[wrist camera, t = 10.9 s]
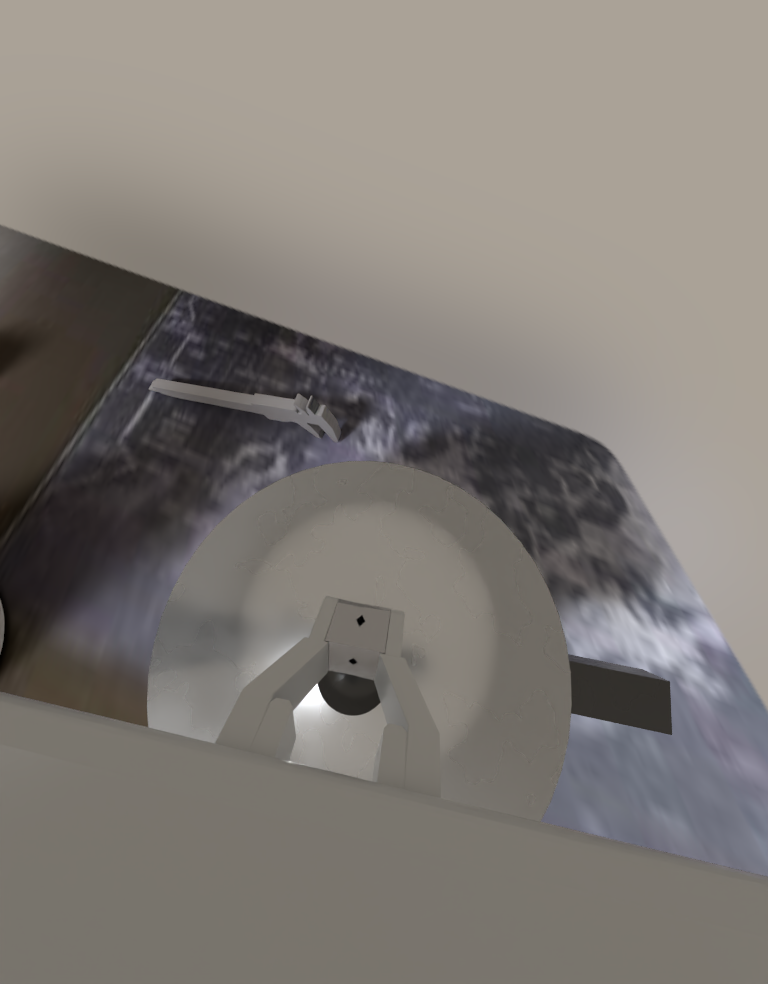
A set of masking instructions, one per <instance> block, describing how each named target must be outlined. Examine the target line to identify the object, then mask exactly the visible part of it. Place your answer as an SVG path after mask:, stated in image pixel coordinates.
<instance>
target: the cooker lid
mask: <svg viewBox="0 0 768 984" xmlns="http://www.w3.org/2000/svg"><path fill="white" fill-rule="evenodd" d="M326 596H330V597H335V598H339V599H343V600H348V601H352V602H357V603H362V604H369V605H374V606H379V607H385V608H390V609H393V610H398V611H404V613H405V619H404V630H403V642H402V653H401V657H402V658H405V659H406V661H407V663H408V666H409V668H410V670H411V672H412V674H413V677H414V679H415V681H416V683H417V685H418V687H419V690H420V692H421V694H422V696H423V698H424V701H425V703H426V705H427V707H428V709H429V712H430V714H431V716H432V718H433V720H434V722H435V725H436V727H437V729H438V731H439V733H440V774H441V798H443V799H447V800H452V801H456V802H460V803H464V804H468V805H472V806H476V807H481V808H485V809H489V810H493V811H497V812H501V813H506V814H510V815H514V816H518V817H522V818H526V819H530V820H535V821H539V822H541V820H542V818H543V816H544V814H545V812H546V810H547V808H548V806H549V804H550V802H551V799H552V796H553V793H554V791H555V788H556V785H557V782H558V779H559V776H560V774H561V771H562V766H563V762H564V757H565V752H566V748H567V743H568V739H569V729H570V718H571V706H572V701H571V672H570V665H569V658H568V652H567V645H566V640H565V636H564V633H563V629H562V625H561V621H560V618H559V614H558V611H557V609H556V606H555V604H554V601H553V599H552V596H551V594H550V591H549V589H548V586H547V584H546V583H545V581H544V579H543V577H542V575H541V573H540V571H539V570H538V568H537V566H536V564H535V562H534V561H533V559H532V558H531V556H530V555H529V553H528V552H527V551H526V549H525V548H524V546H523V545H522V543H521V542H520V541H519V539H518V538H517V537H516V536H515V535H514V534H513V532H512V531H511V530H510V529H509V528H508V527H507V526H506V525H505V523H504V522H503V521H502V520H501V519H500V518H499V517H498V516H496V515H495V514H494V513H493V512H492V511H491V510H490V509H488V508H487V507H486V506H485V505H484V504H483V503H482V502H480V501H479V500H477V499H476V498H474V497H473V496H471V495H470V494H469V493H467V492H466V491H464V490H463V489H461V488H459V487H457V486H455V485H454V484H452V483H450V482H448V481H446V480H444V479H442V478H440V477H438V476H435V475H432V474H430V473H427V472H424V471H421V470H419V469H415V468H411V467H407V466H403V465H398V464H394V463H385V462H376V461H347V462H340V463H333V464H326V465H322V466H318V467H314V468H310V469H307V470H303V471H300V472H298V473H295V474H293V475H290V476H288V477H285V478H283V479H280V480H278V481H276V482H275V483H273V484H271V485H269V486H267V487H266V488H264V489H262V490H260V491H258V492H257V493H255V494H254V495H253V496H251V497H250V498H248V499H247V500H246V501H244V502H243V503H241V504H240V505H239V506H237V507H236V508H235V509H234V510H233V511H232V512H231V513H230V514H229V515H227V516H226V517H225V518H224V519H223V520H222V521H221V522H220V523H219V524H218V525H217V526H216V527H215V528H214V529H213V531H212V532H211V533H210V534H209V535H208V536H207V537H206V538H205V540H204V541H203V542H202V543H201V544H200V546H199V547H198V549H197V550H196V552H195V553H194V554H193V556H192V557H191V559H190V560H189V562H188V563H187V565H186V566H185V568H184V570H183V572H182V573H181V575H180V577H179V579H178V581H177V583H176V585H175V586H174V588H173V590H172V592H171V595H170V597H169V600H168V602H167V605H166V607H165V610H164V612H163V615H162V617H161V621H160V624H159V628H158V631H157V635H156V638H155V642H154V646H153V652H152V658H151V664H150V670H149V677H148V698H147V713H148V727H149V728H153V729H157V730H161V731H165V732H169V733H173V734H178V735H182V736H186V737H190V738H194V739H198V740H203V741H207V742H211V743H215V742H216V740H217V738H218V736H219V734H220V732H221V730H222V728H223V726H224V725H225V723H226V721H227V719H228V717H229V715H230V713H231V711H232V709H233V707H234V705H235V703H236V701H237V699H238V698H239V696H240V694H241V692H242V690H243V688H244V687H245V686H247V685H248V684H249V683H250V682H251V681H253V680H254V679H255V678H256V677H257V676H259V675H260V674H261V673H262V672H263V671H265V670H266V669H267V668H268V667H269V666H271V665H272V664H273V663H274V662H275V661H277V660H278V659H279V658H280V657H281V656H283V655H284V654H285V653H286V652H287V651H289V650H290V649H291V648H292V647H293V646H294V645H296V644H297V643H298V642H299V641H300V640H302V639H303V638H304V637H308V638H309V636H310V633H311V630H312V628H313V625H314V623H315V620H316V618H317V615H318V612H319V610H320V607H321V605H322V602H323V600H324V598H325V597H326ZM293 716H294V724H295V732H296V740H295V743H294V746H293V750H292V753H291V756H290V759H289V761H290V762H294V763H298V764H302V765H306V766H310V767H315V768H319V769H323V770H327V771H331V772H335V773H340V774H344V775H348V776H352V777H356V778H360V779H364V780H369V781H372V776H373V769H374V761H375V755H376V752H377V749H378V746H379V742H380V739H381V736H382V733H383V730H384V727H385V726H386V725H387V722H386V719H385V715H384V712H383V709H382V706H381V702H380V699H379V696H378V692H377V689H376V686H375V682H374V680H370V679H366V678H362V677H358V676H354V675H350V674H345V673H340V672H334V671H329V670H328V672H327V674H326V675H325V676H324V677H323V678H322V679H321V680H320V681H319V682H318V684H317V685H316V686H315V687H314V688H313V689H312V690H311V691H310V693H309V694H308V695H307V696H306V697H305V698H304V699H303V700H302V702H301V703H300V704H299V705H298V706H297V707H296V708H295V709H294V711H293Z"/></svg>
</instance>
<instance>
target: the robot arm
mask: <svg viewBox="0 0 768 984" xmlns="http://www.w3.org/2000/svg"><path fill="white" fill-rule="evenodd" d="M404 619H405V613H404V611H398V610H393V609H390V608H385V607H379V606H374V605H369V604H362V603H357V602H352V601H348V600H343V599H339V598H335V597H330V596H326V597H325V598H324V600H323V602H322V605H321V607H320V610H319V612H318V615H317V618H316V620H315V623H314V625H313V628H312V630H311V633H310V636H309V638H308V637H304V638H303V639H302V640H300V641H299V642H298V643H297V644H296V645H294V646H293V647H292V648H291V649H290V650H289V651H287V652H286V653H285V654H284V655H283V656H281V657H280V658H279V659H278V660H277V661H275V662H274V663H273V664H272V665H271V666H269V667H268V668H267V669H266V670H265V671H263V672H262V673H261V674H260V675H259V676H257V677H256V678H255V679H254V680H253V681H251V682H250V683H249V684H248V685H247V686H245V687H244V688H243V690H242V692H241V694H240V696H239V698H238V699H237V701H236V703H235V705H234V707H233V709H232V711H231V713H230V715H229V717H228V719H227V721H226V723H225V725H224V726H223V728H222V730H221V732H220V734H219V736H218V738H217V740H216V742H215V743H211V742H207V741H203V740H198V739H194V738H190V737H186V736H182V735H178V734H173V733H169V732H165V731H161V730H157V729H153V728H149V727H144V726H140V725H136V724H132V723H128V722H124V721H120V720H115V719H111V718H107V717H103V716H99V715H95V714H90V713H86V712H82V711H78V710H74V709H70V708H66V707H61V706H57V705H53V704H49V703H45V702H41V701H37V700H32V699H28V698H24V697H20V696H16V695H12V694H7V693H3V692H0V984H768V877H767V876H763V875H759V874H755V873H750V872H746V871H742V870H738V869H734V868H730V867H725V866H721V865H717V864H713V863H709V862H705V861H701V860H696V859H692V858H688V857H684V856H680V855H676V854H672V853H667V852H663V851H659V850H655V849H651V848H647V847H642V846H638V845H634V844H630V843H626V842H622V841H618V840H613V839H609V838H605V837H601V836H597V835H593V834H589V833H584V832H580V831H576V830H572V829H568V828H564V827H559V826H555V825H551V824H547V823H543V822H539V821H535V820H530V819H526V818H522V817H518V816H514V815H510V814H506V813H501V812H497V811H493V810H489V809H485V808H481V807H476V806H472V805H468V804H464V803H460V802H456V801H452V800H447V799H443V798H441V774H440V733H439V731H438V729H437V727H436V725H435V722H434V720H433V718H432V716H431V714H430V712H429V709H428V707H427V705H426V703H425V701H424V698H423V696H422V694H421V692H420V690H419V687H418V685H417V683H416V681H415V679H414V677H413V674H412V672H411V670H410V668H409V666H408V663H407V661H406V659H405V658H402V657H401V653H402V642H403V630H404ZM3 639H4V612H3V607H2V603H1V600H0V653H1V649H2V645H3ZM328 670H329V671H334V672H340V673H345V674H350V675H354V676H358V677H362V678H366V679H370V680H374V682H375V686H376V689H377V692H378V696H379V699H380V702H381V706H382V709H383V712H384V715H385V719H386V722H387V725H386V726H385V727H384V730H383V733H382V736H381V739H380V742H379V746H378V749H377V752H376V755H375V761H374V769H373V776H372V781H369V780H364V779H360V778H356V777H352V776H348V775H344V774H340V773H335V772H331V771H327V770H323V769H319V768H315V767H310V766H306V765H302V764H298V763H294V762H290V761H289V759H290V756H291V753H292V750H293V746H294V743H295V740H296V732H295V724H294V716H293V711H294V709H295V708H296V707H297V706H298V705H299V704H300V703H301V702H302V700H303V699H304V698H305V697H306V696H307V695H308V694H309V693H310V691H311V690H312V689H313V688H314V687H315V686H316V685H317V684H318V682H319V681H320V680H321V679H322V678H323V677H324V676H325V675H326V674H327V672H328Z"/></svg>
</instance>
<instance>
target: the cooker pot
mask: <svg viewBox="0 0 768 984" xmlns="http://www.w3.org/2000/svg"><path fill="white" fill-rule="evenodd" d="M568 658H569V665H570V672H571V701H572V706H571V713H573V714H577V715H582V716H587V717H591V718H596V719H600V720H605V721H610V722H614V723H619V724H624V725H628V726H633V727H638V728H642V729H647V730H652V731H656V732H661V733H665V734H670V735H672V723H671V698H670V681H667V680H665V679H663V678H661V677H658V676H656V675H654V674H652V673H649V672H647V671H645V670H643V669H638V668H633V667H628V666H623V665H618V664H613V663H608V662H603V661H598V660H594V659H589V658H584V657H579V656H574V655H569V654H568Z"/></svg>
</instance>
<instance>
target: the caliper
mask: <svg viewBox="0 0 768 984" xmlns="http://www.w3.org/2000/svg"><path fill="white" fill-rule="evenodd" d="M149 390H151V391H155V392H160V393H162V394H165V395H168V396H172V397H176V398H180V399H186V400H191V401H196V402H201V403H207V404H212V405H217V406H222V407H227V408H232V409H238V410H243V411H248V412H253V413H258V414H263V415H264V416H266V417H267V418H268V419H270V420H278V421H281V422H290V421H291V422H296V423H298V424H299V425H300V426H302V427H303V428H305V429H306V430H307V431H309V432H310V433H311V434H313V435H314V436H316V437H318V438H321V439H322V436H323V434H324V432H325V433H326V434H327V435H328V436H329V437H330V438H331V439H332V440H333V441H334V442H338V441H339V438H340V435H341V430H340V427H339V425H338V422H337V420H336V418H335V417H334V416H333V414H332V413H331V412H330V411H329V409H328V408H327V407H326V406H325V405H320V404H318V403H317V401H316V400H315V399H314V398H313V396H310V399H309V401H308V400H307V399H306V398H305V397H303V396H302V395H300V394H297V396H296V399H295V400H294V399H288V398H282V397H276V396H270V395H264V394H257V393H255V394H254V395H249V394H243V393H238V392H232V391H226V390H221V389H215V388H209V387H203V386H198V385H192V384H186V383H180V382H174V381H169V380H163V379H157V378H156V380H155V381H154V380H153V382H152V384H151V386H150V388H149Z"/></svg>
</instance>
